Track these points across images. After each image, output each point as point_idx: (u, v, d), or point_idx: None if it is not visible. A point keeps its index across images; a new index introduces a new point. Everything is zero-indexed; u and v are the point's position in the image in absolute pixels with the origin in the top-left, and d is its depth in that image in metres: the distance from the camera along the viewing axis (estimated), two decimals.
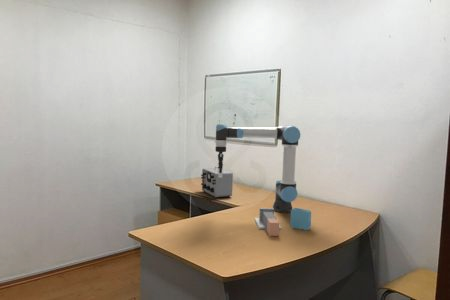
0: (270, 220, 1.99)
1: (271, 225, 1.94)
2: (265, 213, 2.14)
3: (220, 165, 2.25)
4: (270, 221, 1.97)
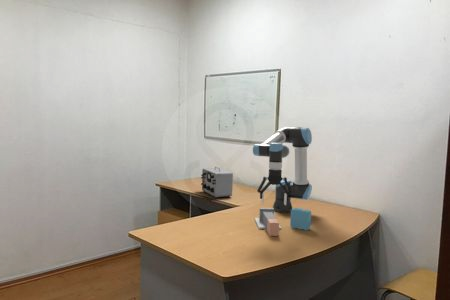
0: (270, 220, 1.99)
1: (271, 225, 1.94)
2: (265, 213, 2.14)
3: (258, 189, 1.96)
4: (270, 221, 1.97)
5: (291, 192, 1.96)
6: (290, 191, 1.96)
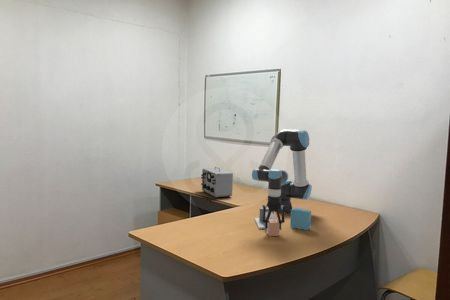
0: (270, 220, 1.99)
1: (271, 225, 1.94)
2: None
3: (262, 219, 1.98)
4: (270, 221, 1.97)
5: None
6: (283, 220, 1.97)
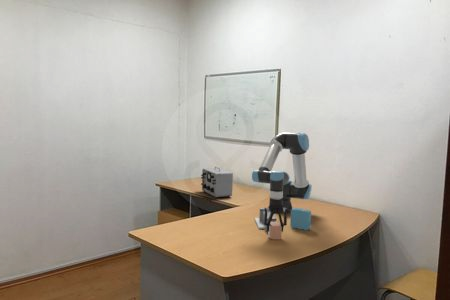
0: (272, 223, 1.93)
1: (273, 228, 1.89)
2: None
3: (264, 222, 1.92)
4: (272, 224, 1.91)
5: None
6: (285, 223, 1.91)
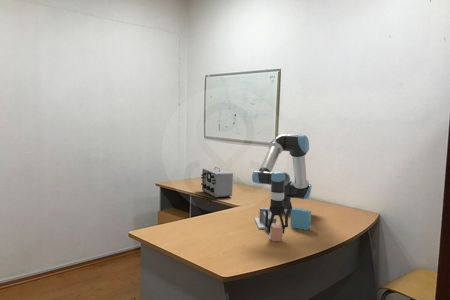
0: (273, 225, 1.90)
1: (274, 230, 1.86)
2: (265, 213, 2.14)
3: (265, 224, 1.89)
4: (273, 226, 1.88)
5: (287, 226, 1.88)
6: (286, 225, 1.88)
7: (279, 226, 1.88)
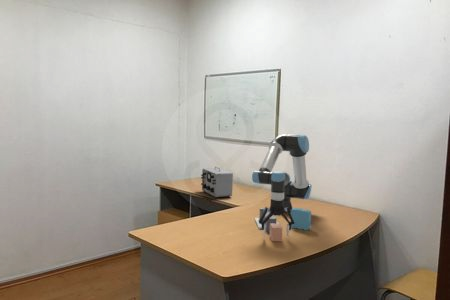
0: (273, 225, 1.90)
1: (274, 230, 1.85)
2: None
3: (259, 220, 1.88)
4: (273, 226, 1.88)
5: None
6: (293, 222, 1.88)
7: (279, 226, 1.88)
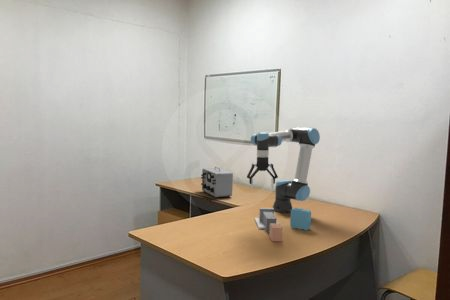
0: (273, 225, 1.90)
1: (274, 230, 1.85)
2: (265, 213, 2.14)
3: (247, 175, 2.15)
4: (273, 226, 1.88)
5: (277, 177, 2.16)
6: (276, 176, 2.16)
7: (279, 226, 1.88)
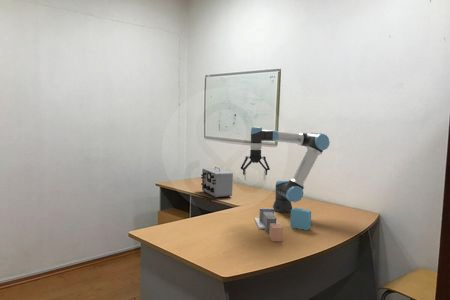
0: (273, 225, 1.90)
1: (274, 230, 1.85)
2: (265, 213, 2.14)
3: (241, 166, 2.30)
4: (273, 226, 1.88)
5: (269, 169, 2.29)
6: (268, 168, 2.29)
7: (279, 226, 1.88)
